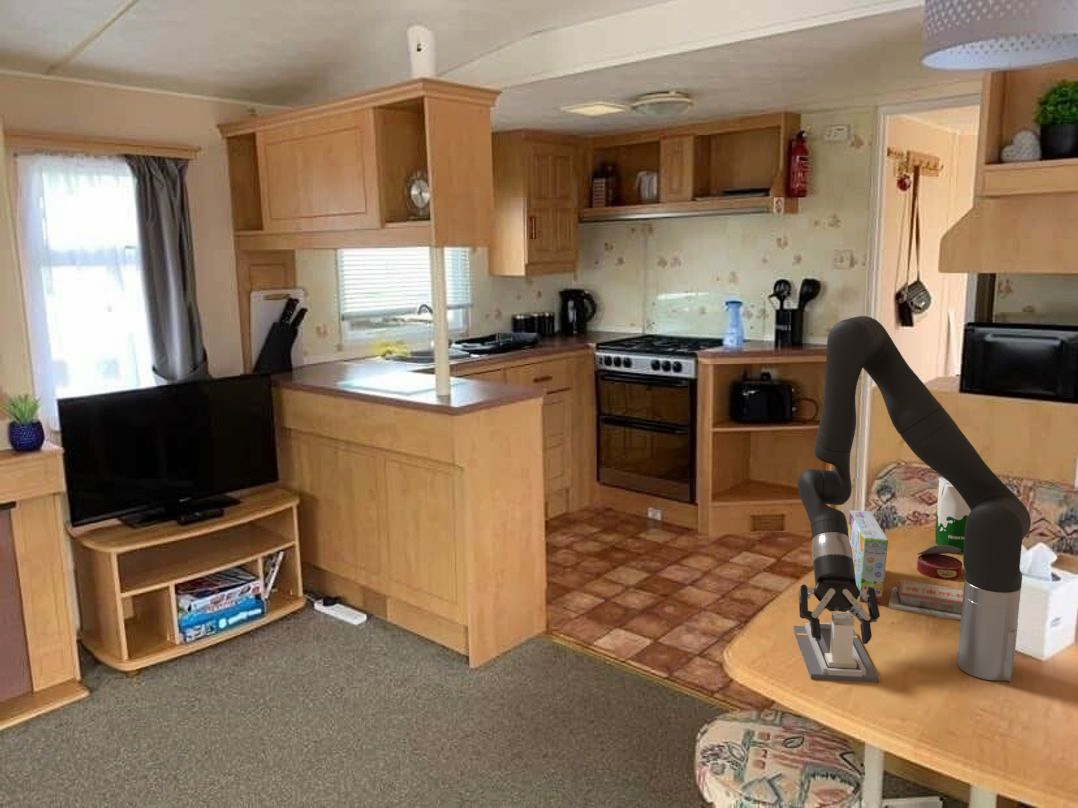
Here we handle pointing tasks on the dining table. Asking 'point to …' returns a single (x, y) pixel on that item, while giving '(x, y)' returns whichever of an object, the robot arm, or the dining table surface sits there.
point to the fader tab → (841, 641)
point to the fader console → (817, 649)
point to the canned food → (940, 563)
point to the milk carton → (950, 516)
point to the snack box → (868, 552)
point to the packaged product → (927, 599)
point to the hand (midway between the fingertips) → (842, 641)
